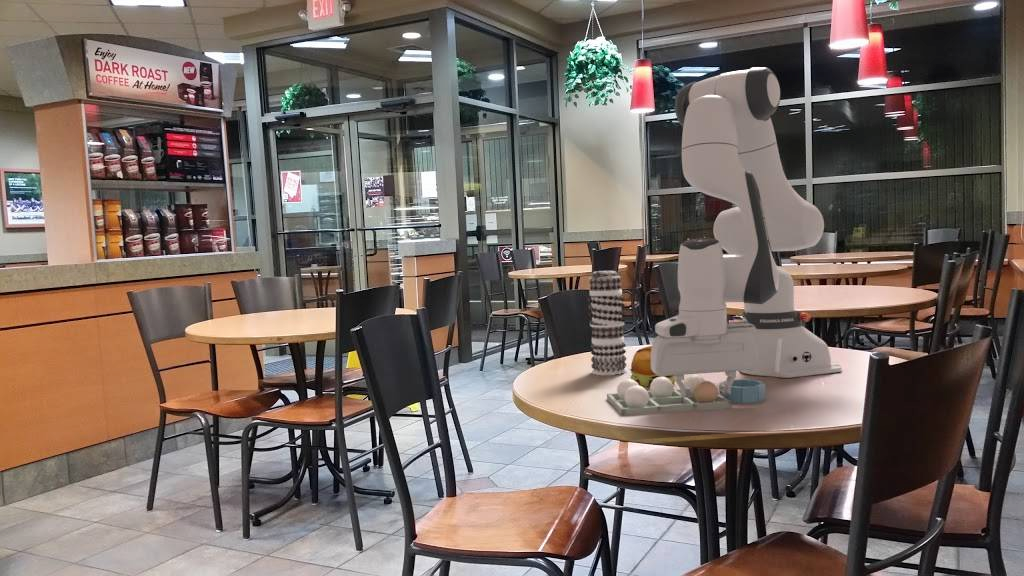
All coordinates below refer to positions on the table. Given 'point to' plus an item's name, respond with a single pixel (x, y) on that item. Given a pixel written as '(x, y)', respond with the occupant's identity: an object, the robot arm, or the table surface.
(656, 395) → the egg carton
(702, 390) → the brown egg
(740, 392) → the egg cup
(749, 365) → the robot arm
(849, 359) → the table surface
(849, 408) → the table surface
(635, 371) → the cheeseburger
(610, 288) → the black white tall cylinder
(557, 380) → the table surface
